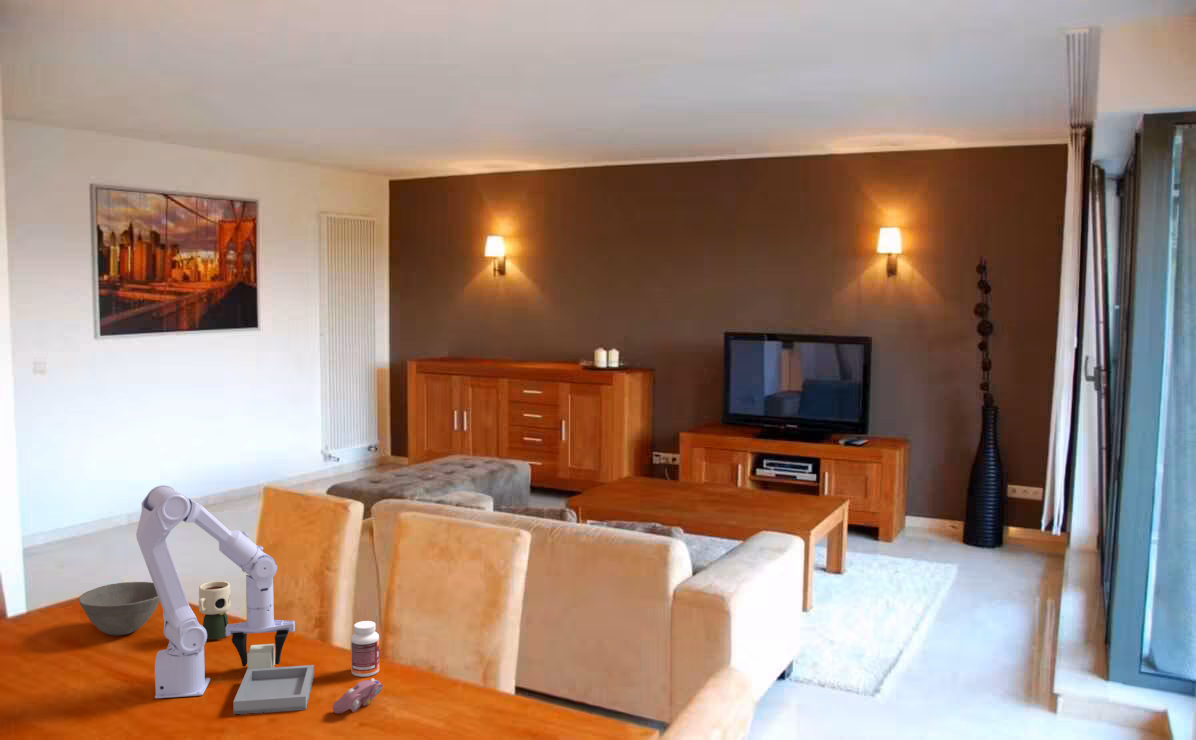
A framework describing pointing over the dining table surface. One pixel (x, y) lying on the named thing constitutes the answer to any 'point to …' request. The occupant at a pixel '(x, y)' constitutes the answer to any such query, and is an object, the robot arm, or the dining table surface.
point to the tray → (274, 689)
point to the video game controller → (358, 696)
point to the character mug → (215, 607)
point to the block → (261, 656)
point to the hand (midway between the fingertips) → (261, 663)
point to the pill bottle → (364, 649)
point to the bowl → (120, 606)
